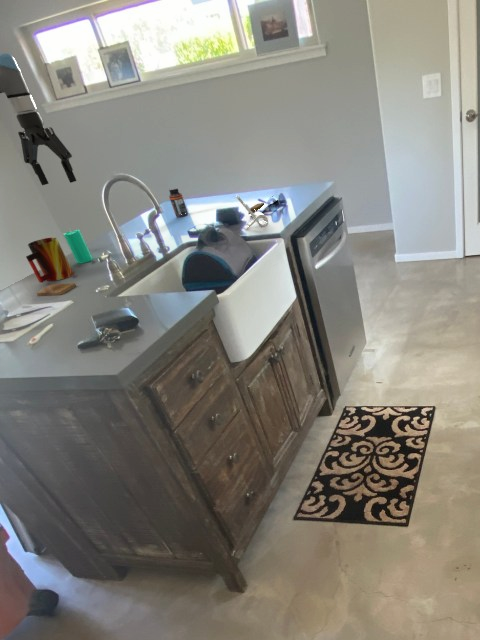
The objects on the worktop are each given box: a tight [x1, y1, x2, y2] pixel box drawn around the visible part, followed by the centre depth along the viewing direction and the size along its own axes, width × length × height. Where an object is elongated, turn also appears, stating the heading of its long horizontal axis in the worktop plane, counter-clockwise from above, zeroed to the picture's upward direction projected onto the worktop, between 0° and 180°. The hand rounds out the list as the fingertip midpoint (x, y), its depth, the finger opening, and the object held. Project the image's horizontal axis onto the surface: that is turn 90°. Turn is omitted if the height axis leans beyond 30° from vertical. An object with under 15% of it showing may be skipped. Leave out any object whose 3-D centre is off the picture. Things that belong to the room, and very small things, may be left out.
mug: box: [25, 236, 75, 284], centre depth 186 cm, size 10×14×12 cm
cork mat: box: [36, 282, 77, 297], centre depth 177 cm, size 10×8×1 cm
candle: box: [63, 229, 93, 264], centre depth 201 cm, size 6×6×12 cm
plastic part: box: [235, 194, 269, 231], centre depth 211 cm, size 8×10×12 cm
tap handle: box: [248, 195, 274, 218], centre depth 237 cm, size 3×3×30 cm
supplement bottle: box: [168, 187, 189, 218], centre depth 245 cm, size 6×6×11 cm
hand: (59, 183), depth 194 cm, fingers open, 13 cm apart
